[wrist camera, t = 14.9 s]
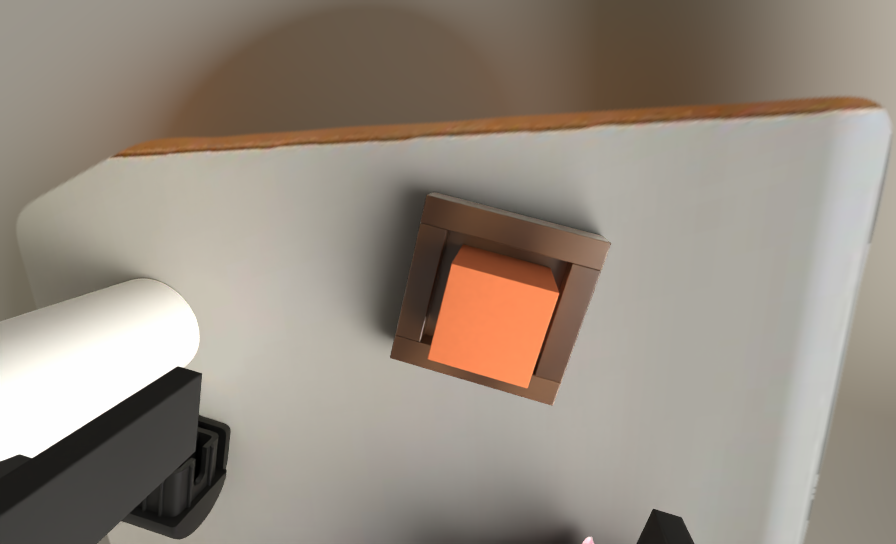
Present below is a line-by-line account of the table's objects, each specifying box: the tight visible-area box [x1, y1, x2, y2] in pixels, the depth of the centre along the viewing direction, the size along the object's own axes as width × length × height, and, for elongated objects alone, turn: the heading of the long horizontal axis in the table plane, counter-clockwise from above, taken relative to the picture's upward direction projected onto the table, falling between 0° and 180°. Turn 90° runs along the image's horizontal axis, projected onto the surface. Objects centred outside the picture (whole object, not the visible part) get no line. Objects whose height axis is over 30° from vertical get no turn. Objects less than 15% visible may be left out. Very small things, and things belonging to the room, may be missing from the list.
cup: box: [0, 278, 199, 461], centre depth 28 cm, size 8×8×16 cm
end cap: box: [121, 416, 230, 539], centre depth 35 cm, size 10×7×7 cm
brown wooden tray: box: [390, 192, 611, 406], centre depth 29 cm, size 12×12×2 cm
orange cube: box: [428, 245, 559, 388], centre depth 27 cm, size 6×6×6 cm
